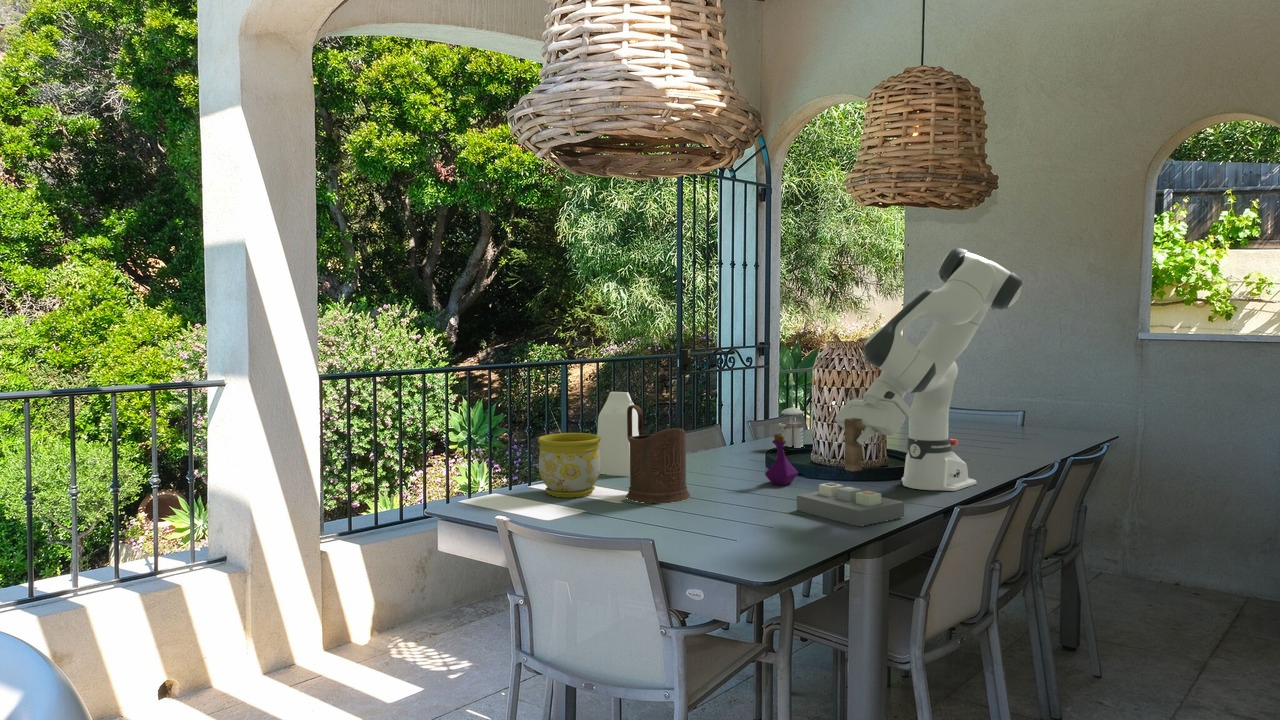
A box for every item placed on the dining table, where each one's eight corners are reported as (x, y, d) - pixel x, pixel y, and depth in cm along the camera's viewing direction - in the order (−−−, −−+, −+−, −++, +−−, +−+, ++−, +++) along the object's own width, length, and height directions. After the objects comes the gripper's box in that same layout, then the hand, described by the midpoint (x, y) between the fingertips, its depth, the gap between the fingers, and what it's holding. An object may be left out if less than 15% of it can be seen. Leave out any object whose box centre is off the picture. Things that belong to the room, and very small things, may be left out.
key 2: (867, 504, 234) (868, 489, 234) (881, 507, 231) (881, 492, 230) (855, 506, 232) (855, 492, 232) (868, 509, 228) (869, 495, 228)
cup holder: (649, 507, 247) (648, 415, 246) (603, 492, 267) (601, 406, 266) (704, 498, 258) (703, 409, 256) (655, 484, 278) (654, 402, 276)
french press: (804, 447, 343) (804, 380, 341) (807, 452, 331) (807, 383, 329) (778, 446, 344) (777, 380, 342) (779, 452, 332) (779, 383, 330)
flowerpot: (546, 502, 255) (545, 443, 253) (533, 489, 272) (532, 434, 271) (608, 497, 260) (608, 439, 259) (592, 485, 277) (591, 431, 276)
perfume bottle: (786, 487, 271) (786, 426, 270) (764, 484, 275) (764, 424, 274) (798, 483, 277) (798, 423, 276) (776, 480, 281) (776, 421, 280)
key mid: (849, 499, 240) (849, 485, 240) (861, 502, 236) (861, 488, 236) (836, 502, 237) (837, 487, 237) (849, 505, 234) (849, 490, 233)
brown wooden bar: (854, 468, 235) (853, 417, 234) (862, 470, 232) (861, 419, 231) (844, 469, 233) (844, 418, 233) (852, 471, 231) (852, 419, 230)
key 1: (831, 495, 245) (831, 481, 245) (843, 498, 242) (843, 484, 241) (819, 497, 243) (819, 483, 243) (831, 500, 239) (831, 486, 239)
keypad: (840, 502, 250) (840, 487, 250) (904, 517, 232) (904, 502, 232) (796, 510, 242) (796, 495, 241) (859, 527, 223) (859, 510, 223)
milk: (644, 470, 301) (643, 391, 299) (630, 476, 290) (629, 394, 288) (610, 467, 305) (609, 390, 303) (595, 474, 295) (594, 393, 293)
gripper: (848, 389, 244) (818, 429, 240) (902, 395, 226) (871, 438, 222) (861, 405, 246) (832, 444, 242) (916, 412, 228) (886, 454, 224)
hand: (851, 441), depth 232 cm, fingers closed on brown wooden bar, 3 cm apart
